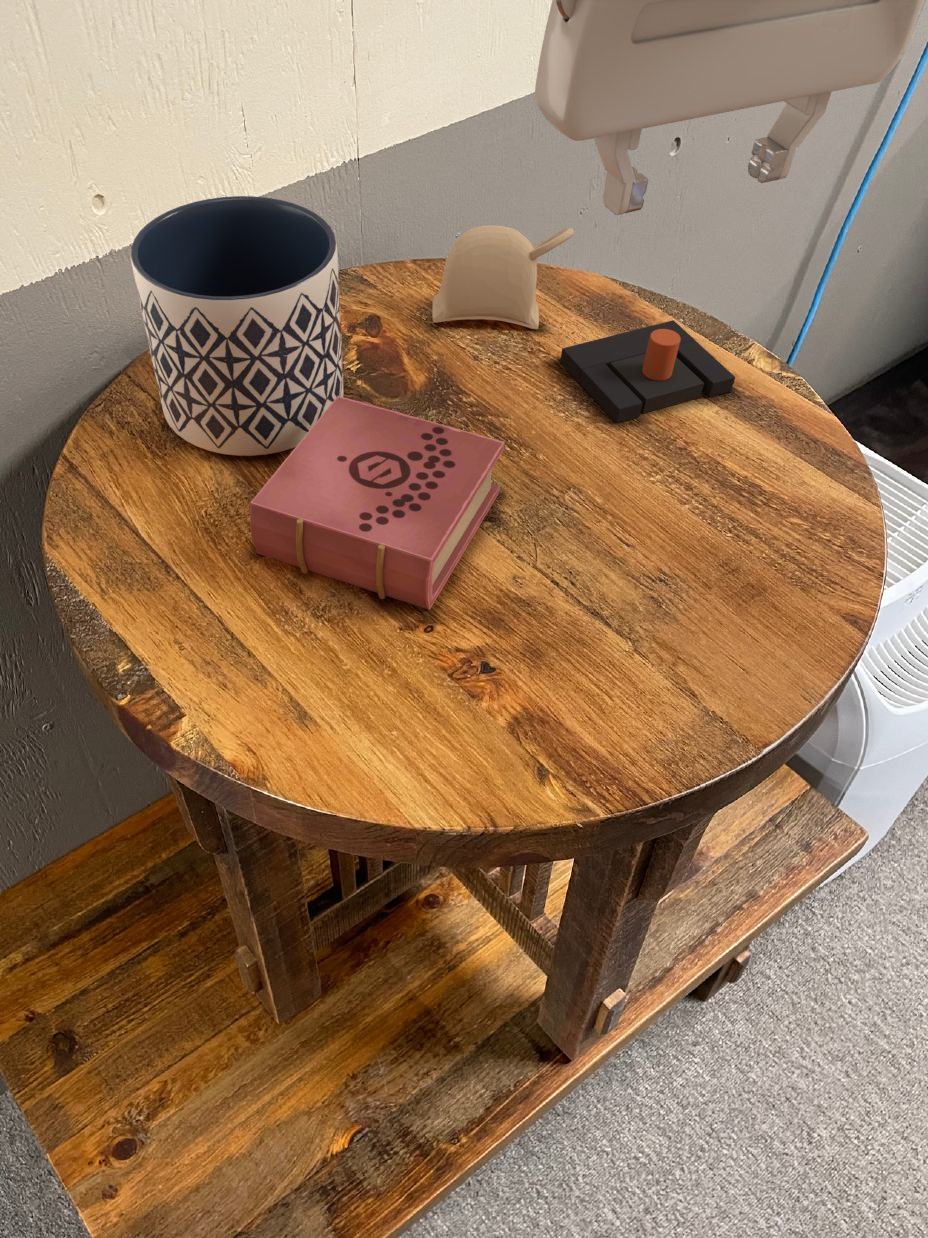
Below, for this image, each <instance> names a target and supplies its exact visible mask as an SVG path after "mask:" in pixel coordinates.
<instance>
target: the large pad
mask: <svg viewBox="0 0 928 1238" xmlns="http://www.w3.org/2000/svg"><path fill="white" fill-rule="evenodd" d="M658 329H669V330H672V331H674V332H676V333H678V334H679V336H680V339H681V340H680V344H679V348H678V352H677V356H676V357H677V358H678V359H679V360H680V361H681V362H682V363H683V364H684V365H685V366H687V367H688V368H689V369H690V370H691V371H692V372H693V373H694V374H695V375H696V376H697V377H698V378H699V379H700V380H701V381H702V382H703V383H704V386H703V389H702V393H704V394H705V395H706V396H707V397H708V398H712V397H715V396H719V395H723V394H726V393H729V392H732V389H733V387H734V384H735V381H736V376H735V375H734V374H733V373H732V372H730V371H729V369H727V367H725V366H724V365H723V364H722V363H721V362H720V361H719V360H718V359H717V358H715V357H714V356H713V355H712V354H711V353H710V352H709V351H708V350H706V348H705V347H703V345H701V344H700V342H698V341H697V340H696V339H695V338H694V337H692V335H690V333H688V331H686V330H685V329H684V328H683V327H682V326H681V325H680V324H679V323H677V321H675V319H673V320H669V321H664V322H660V323H657V324H653V325H648V326H644V327H641V328H637V329H633V330H629V331H626V332H620V333H618V334H614V335H613V334H612V335H609V336H605V337H602V338H597V339H594V340H590V341H586V342H582V343H578V344H574V345H570V346H566V347H562V348H561V354H560V359H559V363H560V364H561V365H562V367H563V368H564V369H565V371H567V372H568V373H569V374H570V375H571V377H572V378H573V379H575V381H576V382H577V383H578V384H579V385H580V386H581V387H582V388H583V389H584V390H585V391H586V392H587V394H588V395H589V396H590V397H591V398H592V399H593V400H594V401H595V402H596V404H597V405H599V406H600V408H601V409H602V410H603V411H604V412H605V413H606V414H607V415H608V416H609V417H610V418H611V420H612V421H613V422H614V423H615V424H619V423H623V422H626V421H629V420H633V419H637V418H640V416H641V413H642V412H641V408H642V404H643V403H642V401H641V400H640V399H639V398H638V397H637V396H636V395H635V394H634V393H633V392H632V391H631V390H630V389H629V388H628V387H627V386H626V385H625V384H624V383H623V382H622V381H621V380H620V379H619V378H618V377H617V376H616V375H615V374H614V372H613V371H612V370H611V369H610V368H609V367H610V363H611V362H615V361H619V360H623V359H626V358H630V357H634V356H638V355H642V354H645V353H646V351H647V347H648V343H649V338H650V334H651V333H652V332H653V331H655V330H658Z"/></svg>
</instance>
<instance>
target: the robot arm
mask: <svg viewBox="0 0 928 1238" xmlns="http://www.w3.org/2000/svg"><path fill="white" fill-rule="evenodd" d="M924 3H925V0H551V5H550V8H549V13H548V17H547V21H546V26H545V30H544V36H543V40H542V45H541V50H540V55H539V60H538V61H539V62H538V66H537V72H536V78H535V85H534V100H535V103H536V106H537V107H538V109H539V111H540V112H541V114H542V116H543V117H544V119H545V120H546V121H547V122H548V123H549V124H550V125H551V126H553V127H554V128H555V129H556V130H558V131H559V132H560V133H561V134H562V135H564V136H565V137H566V138H569V140H571V141H577V142H578V141H580V142H581V141H586V140H591V139H593V141H594V143H595V146H596V148H597V151H598V154H599V157H600V159H601V162H602V165H603V167H604V170H605V171H606V175H605V176H606V177H605V182H604V188H603V195H602V200H603V204H604V207H605V208H606V209H608V210H609V211H610V212H611V213H612V214H613V215H615V216H620V215H624V214H629V213H632V212H637V211H641V209H643V207H644V203H645V200H644V195H645V194H646V192H647V189H648V184H649V178H648V177H646V176H645V175H644V174H643V173H640V172H638V170H637V169H636V168H635V167H634V166H633V165H632V162H631V159H630V155H629V152H630V151H635V150H637V149H638V148H639V144H640V139H641V136H642V130H643V129H648V128H652V127H658V126H662V125H667V124H673V123H678V122H683V121H688V120H694V119H699V118H704V117H709V116H714V115H715V116H716V115H719V114H724V113H725V114H726V113H730V112H734V111H740V110H744V109H750V108H755V107H761V106H767V105H770V104H776V103H781V102H784V103H786V104H785V106H784V107H783V109H782V110H781V112H780V114H779V116H777V119H776V120H775V122H774V124H773V125H772V127H771V129H770V130H769V132H768V134H767V135H766V136H765V137H760V138H757V139H754V142H753V146H752V150H751V155H752V156H751V157H750V159H749V161H748V164H747V172H748V174H749V175H750V177H752V178H753V179H756V180H757V182H758V183H760V184H765V183H769V182H775V181H779V180H783V179H786V178H787V177H788V175H789V173H790V169H791V167H792V163H793V160H794V157H795V153H796V150H797V148H799V147H800V145H801V144H802V143H803V142H804V141H805V139H806V138H807V136H808V135H809V134H810V132H811V131H812V130H813V129H814V127H815V126H816V125H817V123H818V122H819V120H821V118H822V117H823V116H824V114H825V113H826V110H827V107H828V104H829V101H830V98H831V94H832V92H837V91H838V92H839V91H843V90H847V89H853V88H857V87H863V86H868V85H872V84H873V85H874V84H877V83H880V82H882V81H883V80H884V79H885V78H886V77H887V76H888V75H889V73H890V72H891V71H892V70H893V69H894V68H895V67H896V65H897V64H898V63H899V62H900V60H901V59H902V58H903V56H904V54H905V52H906V50H907V48H908V46H909V44H910V42H911V38H912V36H913V33H914V31H915V28H916V25H917V23H918V20H919V17H920V14H921V12H922V10H923V7H924Z"/></svg>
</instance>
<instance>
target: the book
mask: <svg viewBox="0 0 928 1238" xmlns="http://www.w3.org/2000/svg"><path fill="white" fill-rule="evenodd" d="M505 443H506V441H502V440H499V439H495V438H491V437H488V436H485V435H481V434H477V433H474V432H471V431H467V430H464V429H460V428H456V427H452V426H449V425H446V424H441V423H438V422H434V421H431V420H428V419H423V418H420V417H416V416H412V415H409V414H405V413H402V412H398V411H395V410H391V409H388V408H383V407H380V406H377V405H373V404H370V403H366V402H362V401H359V400H355V399H352V398H348V397H344V396H343V397H341V396H337V397H336V399H335V400H334V401H333V402H332V403H331V405H330V406H329V407H328V408H327V410H326V411H325V412H324V413H323V414H322V416H321V417H320V418H319V419H318V421H317V422H316V423H315V424H314V425H313V427H312V428H311V429H310V430H309V432H308V433H307V434H306V435H305V436H304V438H303V439H302V440H301V441H300V443H299V444H298V445H297V446H296V447H295V448H293V450H292V451H291V452H290V454H288V455H287V457H286V458H285V459H284V461H283V462H282V463H281V464H280V465H279V467H278V468H277V469H276V471H274V473H273V474H272V475H271V477H270V478H269V479H268V480H267V481H266V483H265V484H264V485H263V487H262V488H261V489H260V491H258V492H257V494H256V495H255V496H254V497H253V499H252V500H251V501H250V502H249V528H250V534H251V541H252V543H253V546H254V549H255V551H256V553H257V555H260V556H264V557H267V558H271V559H272V560H276V561H279V562H283V563H285V564H288V565H292V566H294V567H297V568H300V571H301V574H307V573H309V571H310V572H313V573H316V574H318V575H322V576H325V577H328V578H330V579H334V580H337V581H340V582H343V583H346V584H349V585H352V586H355V587H358V588H361V589H364V590H367V591H370V592H373V593H377V594H378V598H379V599H380V600H384V599H386V597H389V598H392V599H395V600H398V601H401V602H404V603H407V604H410V605H413V606H417V607H419V608H422V609H425V610H429V611H430V610H431V608H432V607H433V605H434V604H435V602H436V600H437V599H438V596H439V595H440V593H441V592H442V591H443V589H444V586H445V585H446V583H447V582H448V580H449V578H450V577H451V575H452V573H453V571H454V570H455V568H456V566H457V564H458V563H459V562H460V560H461V558H462V556H463V554H464V552H465V551H466V549H467V548H468V546H469V544H470V542H471V541H472V540H473V538H474V536H475V534H476V533H477V531H478V530H479V528H480V526H481V524H482V522H483V521H484V519H485V517H486V516H487V514H488V513H489V511H490V509H491V508H492V505H493V504H494V503H495V501H496V499H497V497H498V495H499V494H500V487H501V486H500V485H498V484H495V483H492V474H493V468H494V466H495V464H496V463H497V462H498V460H499V458H500V457H501V455H502V453H503V452H504V450H505Z"/></svg>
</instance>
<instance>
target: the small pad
mask: <svg viewBox="0 0 928 1238" xmlns="http://www.w3.org/2000/svg"><path fill="white" fill-rule="evenodd" d="M680 340H681V339H680V336H679V334H678V333H676V332H674V331H672V330H669V329H658V330H655V331H653V332H652V333H651V334H650V338H649V343H648V347H647V351H646V353H645V354H642V355H638V356H634V357H630V358H626V359H623V360H619V361H615V362H611V363H610V367H609V368H610V369H611V370H612V371H613V372H614V374H615V375H616V376H617V377H618V378H619V379H620V380H621V381H622V382H623V383H624V384H625V385H626V386H627V387H628V388H629V389H630V390H631V391H632V392H633V393H634V394H635V395H636V396H637V397H638V398H639V399H640V400H641V401H642V403H643V404H642V408H641V412H640V413H642V414H646V413H650V412H653V411H657V410H661V409H664V408H668V407H672V406H675V405H678V404H682V403H686V402H689V401H692V400H696V399H700V398H701V396H702V393H703V391H702V389H703V386H704V383H703V382H702V381H701V380H700V379H699V378H698V377H697V376H696V375H695V374H694V373H693V372H692V371H691V370H690V369H689V368H688V367H687V366H685V365H684V364H683V363H682V362H681V361H680V360H679V359H678V358H677V357H676V356H677V352H678V348H679V344H680Z"/></svg>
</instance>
